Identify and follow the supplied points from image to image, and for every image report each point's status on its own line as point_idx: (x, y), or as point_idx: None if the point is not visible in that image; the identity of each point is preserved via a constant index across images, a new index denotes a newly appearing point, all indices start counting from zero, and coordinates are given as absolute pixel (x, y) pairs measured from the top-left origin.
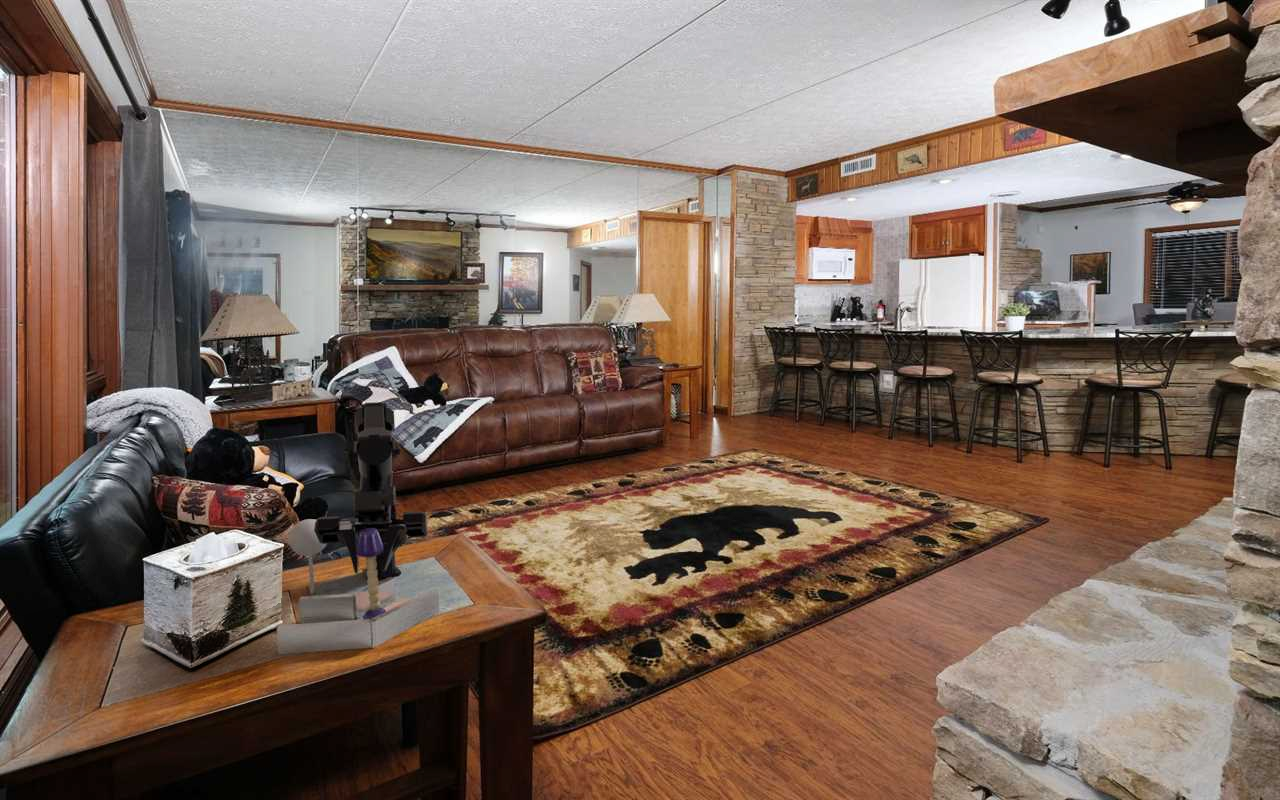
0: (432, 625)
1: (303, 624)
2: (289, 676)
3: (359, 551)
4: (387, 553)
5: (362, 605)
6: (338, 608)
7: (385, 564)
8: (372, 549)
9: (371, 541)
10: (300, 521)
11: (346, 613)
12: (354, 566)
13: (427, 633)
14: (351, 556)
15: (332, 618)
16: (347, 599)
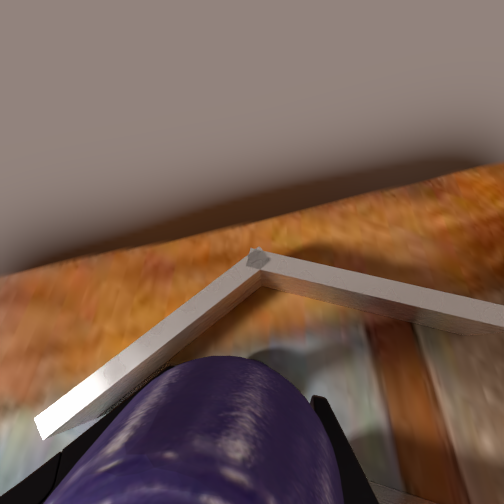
0: (125, 328)
1: (445, 307)
2: (412, 216)
3: (309, 408)
4: (102, 431)
5: None
6: None
7: (155, 376)
8: (197, 363)
9: (177, 396)
10: None
11: None
12: (330, 419)
13: (146, 291)
14: (370, 496)
15: (369, 483)
16: None
